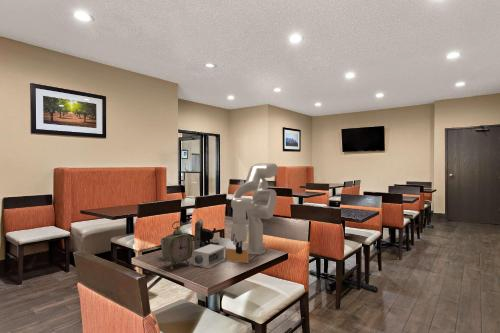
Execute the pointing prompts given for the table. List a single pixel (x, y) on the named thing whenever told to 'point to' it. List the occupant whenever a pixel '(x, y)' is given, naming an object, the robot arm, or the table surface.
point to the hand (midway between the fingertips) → (238, 253)
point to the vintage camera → (202, 235)
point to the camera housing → (208, 256)
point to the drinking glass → (162, 248)
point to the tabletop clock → (177, 246)
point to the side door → (236, 255)
